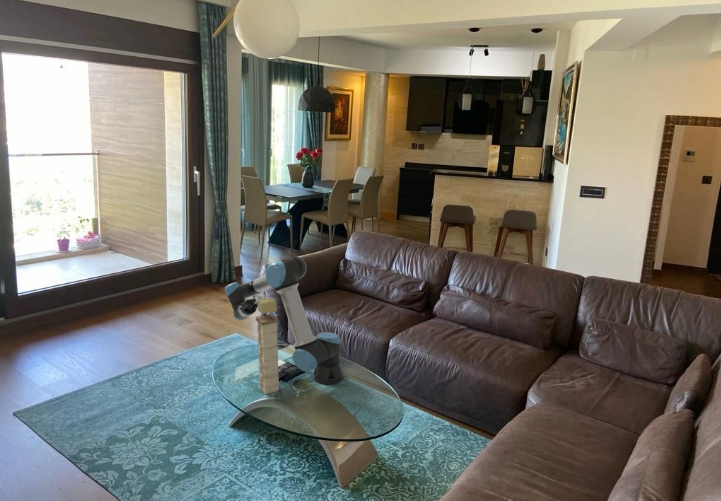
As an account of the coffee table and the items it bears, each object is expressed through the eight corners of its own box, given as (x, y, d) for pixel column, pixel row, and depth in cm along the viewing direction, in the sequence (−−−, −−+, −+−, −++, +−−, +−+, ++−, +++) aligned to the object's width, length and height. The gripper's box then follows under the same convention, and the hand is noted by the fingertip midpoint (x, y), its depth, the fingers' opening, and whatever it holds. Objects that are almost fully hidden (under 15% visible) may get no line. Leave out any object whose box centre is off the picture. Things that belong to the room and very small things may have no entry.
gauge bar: (248, 302, 263) (248, 292, 262) (262, 300, 266) (261, 290, 265) (262, 314, 248) (261, 303, 247) (276, 311, 251) (276, 301, 250)
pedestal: (258, 387, 264) (255, 316, 255) (273, 383, 268) (271, 313, 259) (264, 394, 258) (261, 322, 249) (280, 390, 262) (278, 319, 253)
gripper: (263, 312, 279) (279, 302, 259) (234, 318, 271) (247, 308, 252) (260, 298, 281) (275, 287, 261) (231, 303, 273) (244, 292, 253)
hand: (261, 297), depth 256 cm, fingers closed on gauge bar, 2 cm apart
